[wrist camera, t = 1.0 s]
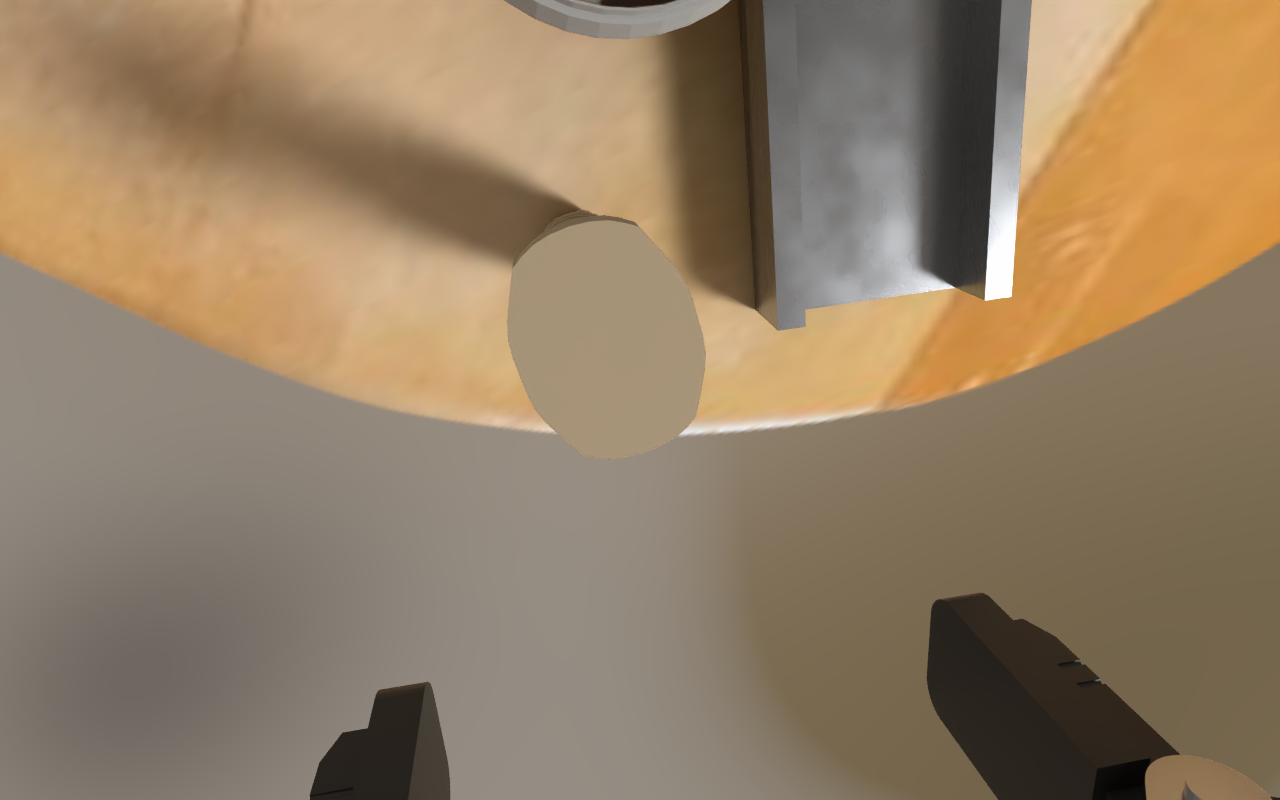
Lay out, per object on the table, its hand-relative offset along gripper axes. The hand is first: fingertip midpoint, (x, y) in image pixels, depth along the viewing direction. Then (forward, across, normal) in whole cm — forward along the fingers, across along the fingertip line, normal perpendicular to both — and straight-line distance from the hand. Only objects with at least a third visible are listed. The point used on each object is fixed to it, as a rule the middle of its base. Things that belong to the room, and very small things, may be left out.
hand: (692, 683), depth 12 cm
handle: (+25, 0, -3) cm, 25 cm away
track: (+24, -13, -10) cm, 29 cm away
